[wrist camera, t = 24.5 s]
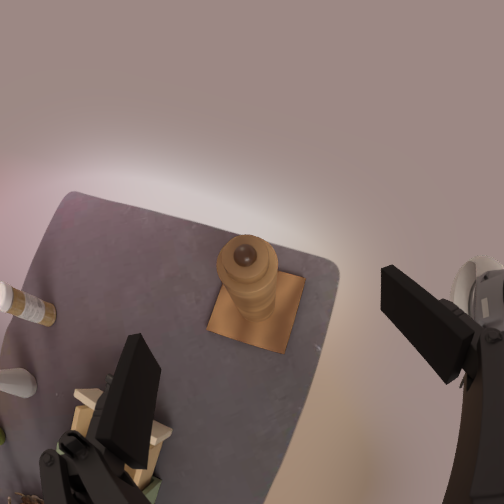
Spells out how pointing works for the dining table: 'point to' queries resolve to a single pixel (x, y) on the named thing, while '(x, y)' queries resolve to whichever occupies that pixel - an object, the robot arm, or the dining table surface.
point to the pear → (2, 436)
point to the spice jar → (26, 305)
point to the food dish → (28, 499)
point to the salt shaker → (17, 382)
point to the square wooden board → (266, 332)
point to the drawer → (85, 415)
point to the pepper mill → (249, 275)
